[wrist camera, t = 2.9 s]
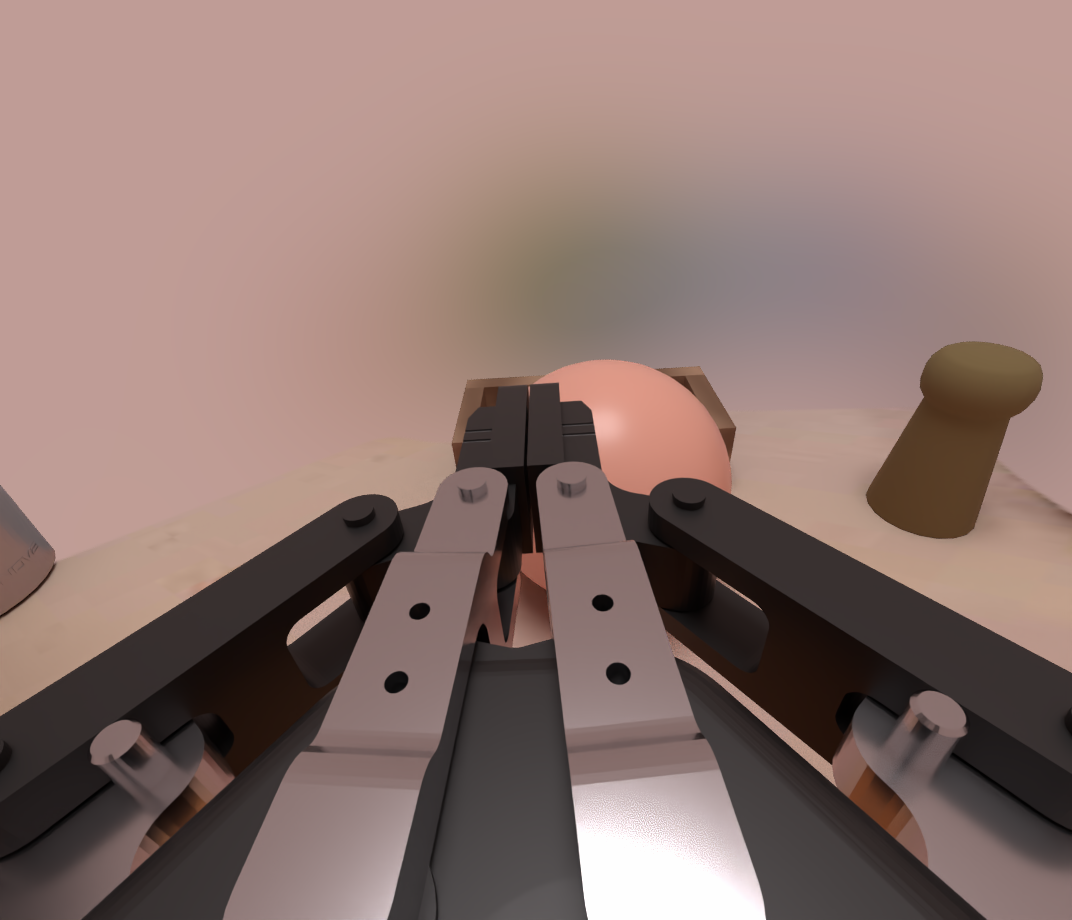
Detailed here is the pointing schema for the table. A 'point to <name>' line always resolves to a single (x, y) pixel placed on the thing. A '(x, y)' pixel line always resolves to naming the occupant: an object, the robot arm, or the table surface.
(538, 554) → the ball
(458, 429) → the stall
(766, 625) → the robot arm
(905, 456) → the cork
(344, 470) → the table surface
